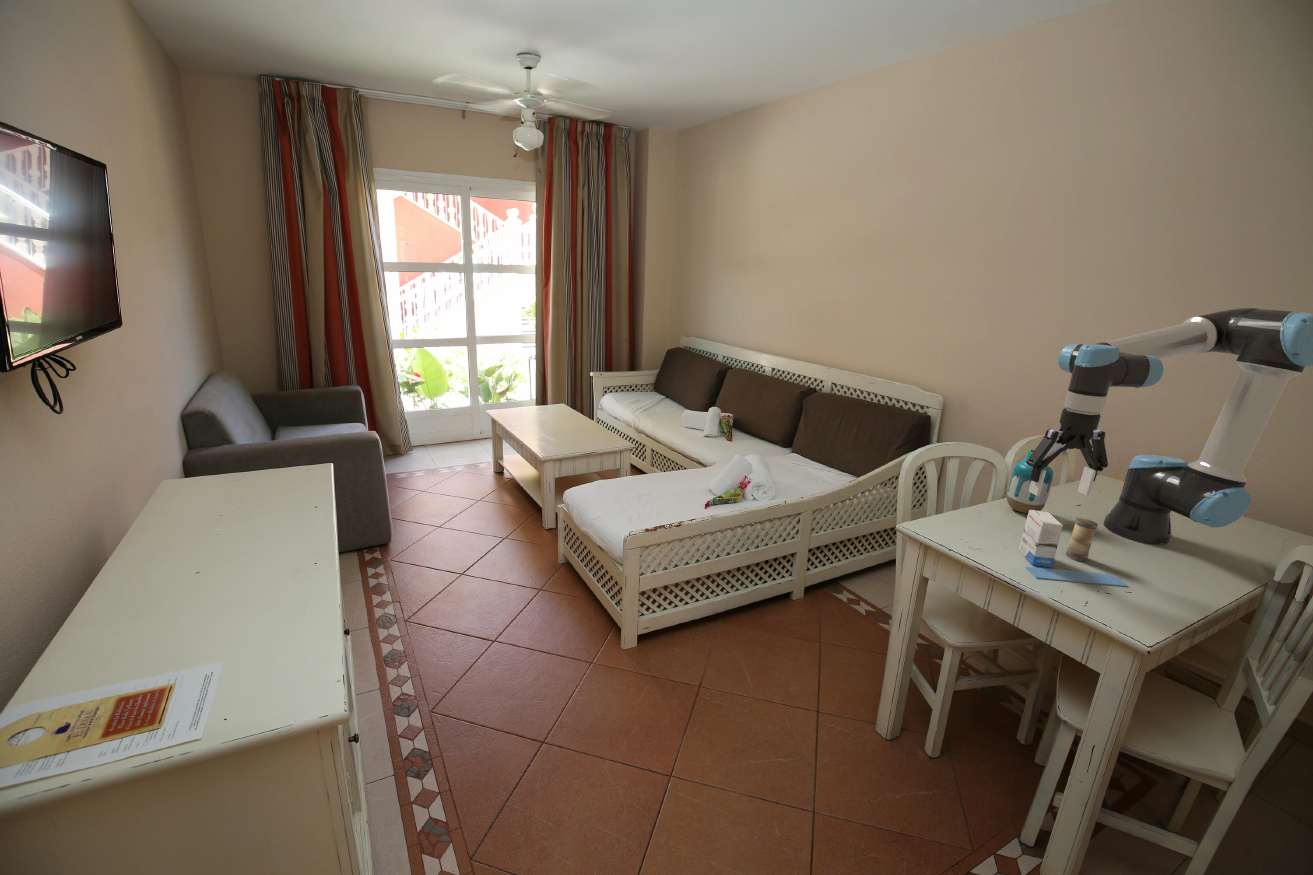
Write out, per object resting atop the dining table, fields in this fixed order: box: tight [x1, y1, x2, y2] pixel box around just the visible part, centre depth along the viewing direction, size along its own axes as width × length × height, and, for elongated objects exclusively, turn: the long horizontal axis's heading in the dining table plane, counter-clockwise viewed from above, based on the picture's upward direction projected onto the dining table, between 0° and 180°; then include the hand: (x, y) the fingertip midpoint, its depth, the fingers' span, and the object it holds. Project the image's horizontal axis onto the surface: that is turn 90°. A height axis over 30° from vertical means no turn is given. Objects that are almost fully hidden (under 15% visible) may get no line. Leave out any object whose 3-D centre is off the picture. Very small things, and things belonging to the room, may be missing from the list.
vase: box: [1006, 449, 1054, 514], centre depth 176 cm, size 11×11×19 cm
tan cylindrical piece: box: [1065, 517, 1099, 562], centre depth 149 cm, size 5×5×10 cm
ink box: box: [1018, 510, 1064, 568], centre depth 147 cm, size 9×5×12 cm, turn 169°
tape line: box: [1025, 566, 1129, 588], centre depth 141 cm, size 21×5×1 cm, turn 85°
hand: (1058, 493), depth 144 cm, fingers open, 13 cm apart
